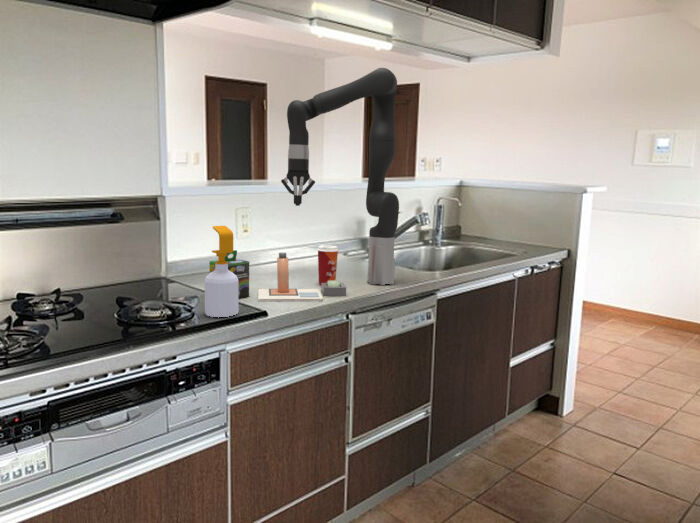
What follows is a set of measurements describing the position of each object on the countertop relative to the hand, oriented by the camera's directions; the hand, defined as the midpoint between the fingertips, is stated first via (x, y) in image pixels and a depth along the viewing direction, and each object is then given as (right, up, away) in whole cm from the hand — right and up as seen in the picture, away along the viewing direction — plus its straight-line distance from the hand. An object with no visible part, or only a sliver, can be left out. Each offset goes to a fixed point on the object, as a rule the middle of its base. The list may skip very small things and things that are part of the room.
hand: (297, 205), depth 210 cm
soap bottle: (-17, -35, -51) cm, 64 cm away
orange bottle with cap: (-2, -30, -25) cm, 39 cm away
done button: (+14, -31, -21) cm, 40 cm away
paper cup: (+11, -29, -8) cm, 32 cm away
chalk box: (-19, -32, -29) cm, 47 cm away
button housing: (+14, -31, -21) cm, 40 cm away
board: (0, -32, -26) cm, 41 cm away
